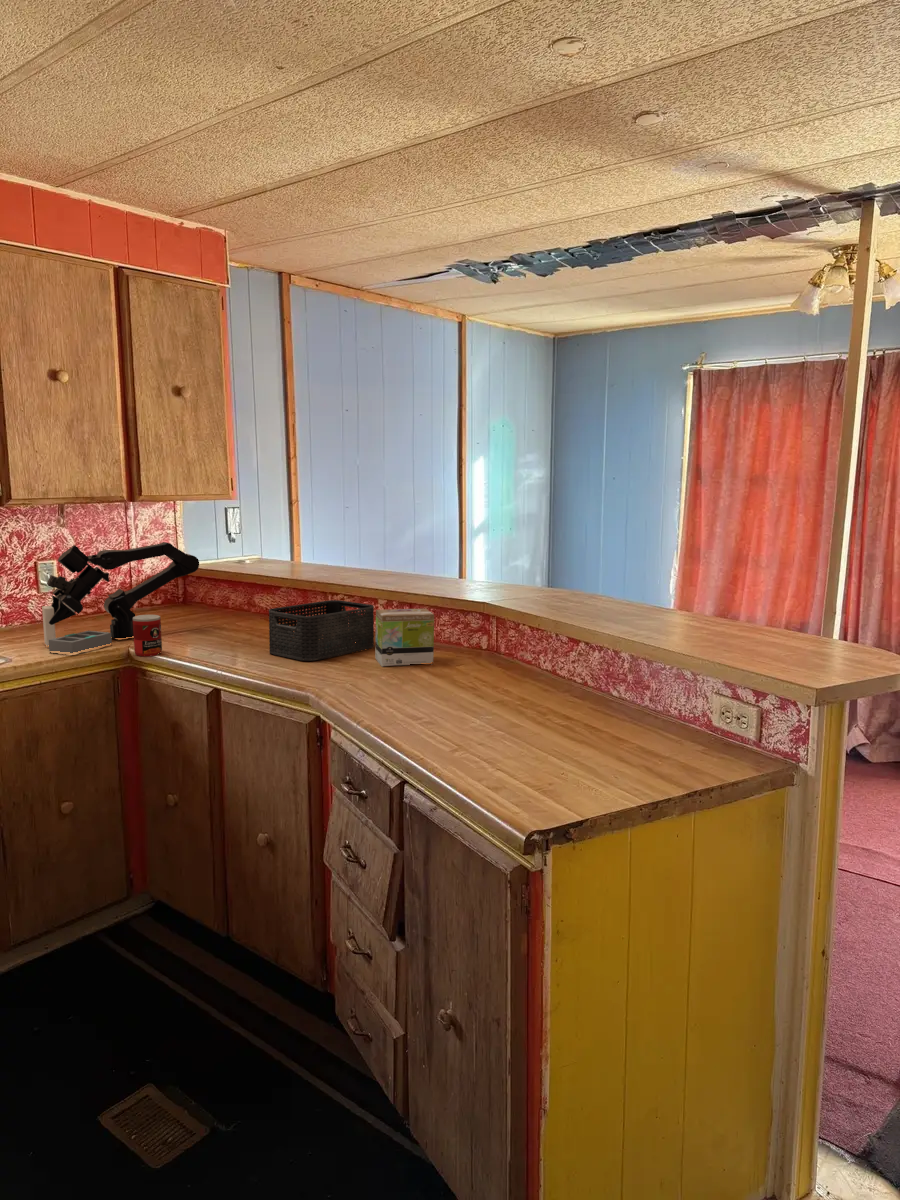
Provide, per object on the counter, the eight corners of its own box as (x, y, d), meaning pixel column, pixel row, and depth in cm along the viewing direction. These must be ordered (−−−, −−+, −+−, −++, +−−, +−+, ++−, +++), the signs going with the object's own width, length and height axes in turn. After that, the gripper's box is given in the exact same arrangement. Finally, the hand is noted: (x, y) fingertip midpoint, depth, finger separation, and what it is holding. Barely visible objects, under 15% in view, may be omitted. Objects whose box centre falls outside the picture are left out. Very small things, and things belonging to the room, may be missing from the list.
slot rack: (89, 643, 258) (88, 629, 257) (111, 645, 255) (111, 632, 254) (49, 653, 244) (48, 639, 243) (72, 655, 241) (71, 641, 240)
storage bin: (335, 639, 267) (334, 598, 265) (379, 647, 256) (378, 604, 253) (264, 654, 245) (263, 609, 243) (308, 664, 233) (307, 617, 231)
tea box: (381, 667, 229) (381, 615, 227) (375, 659, 239) (374, 609, 237) (434, 664, 233) (434, 612, 231) (425, 656, 243) (426, 606, 241)
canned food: (144, 658, 239) (142, 620, 237) (128, 654, 244) (126, 617, 242) (167, 653, 245) (166, 616, 243) (152, 649, 250) (150, 613, 248)
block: (53, 644, 256) (50, 605, 254) (56, 647, 252) (53, 608, 250) (44, 645, 255) (41, 606, 253) (47, 648, 251) (44, 608, 249)
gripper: (58, 562, 260) (21, 600, 256) (68, 568, 245) (29, 609, 240) (86, 585, 266) (50, 623, 261) (98, 593, 250) (61, 633, 246)
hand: (47, 621), depth 252 cm, fingers open, 9 cm apart
